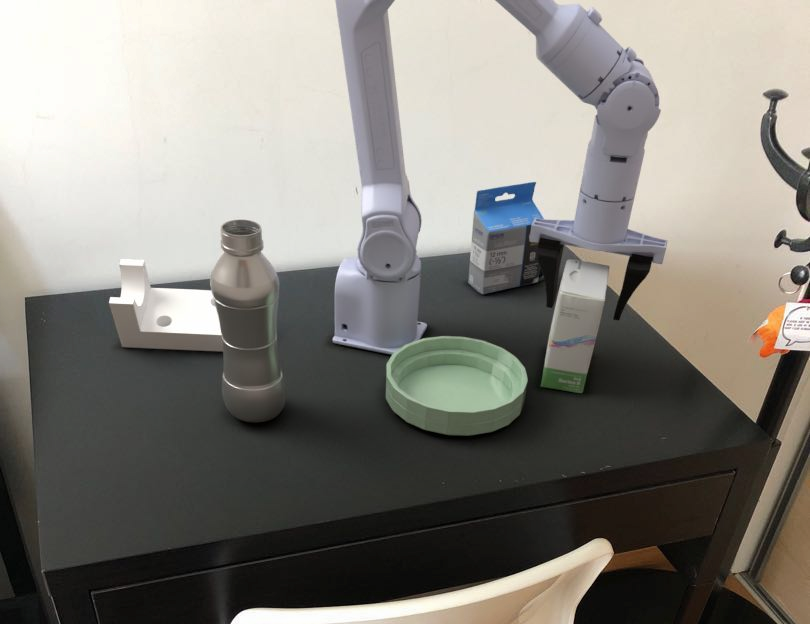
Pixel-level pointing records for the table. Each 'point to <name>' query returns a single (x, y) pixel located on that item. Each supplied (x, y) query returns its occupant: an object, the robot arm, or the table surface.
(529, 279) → the label tape box
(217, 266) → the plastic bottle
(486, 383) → the bowl
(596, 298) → the ink box
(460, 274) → the table surface
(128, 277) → the bracket
